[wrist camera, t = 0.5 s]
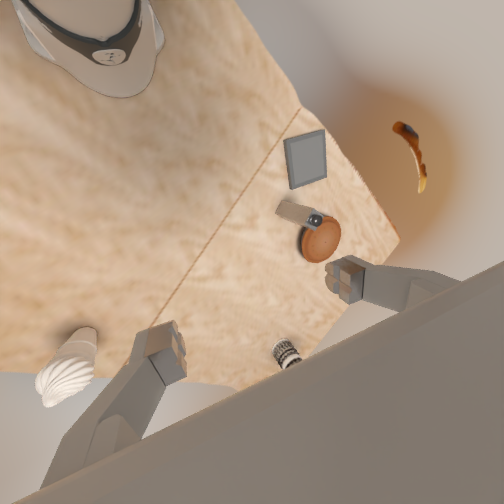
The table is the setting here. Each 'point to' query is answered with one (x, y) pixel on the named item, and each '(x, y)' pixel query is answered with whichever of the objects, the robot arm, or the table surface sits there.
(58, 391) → the soft serve ice cream cone
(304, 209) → the knob-topped square pillar
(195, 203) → the table surface
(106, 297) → the table surface
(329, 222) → the pie
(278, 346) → the decorative candle
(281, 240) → the table surface
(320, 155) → the rest tile
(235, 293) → the table surface
